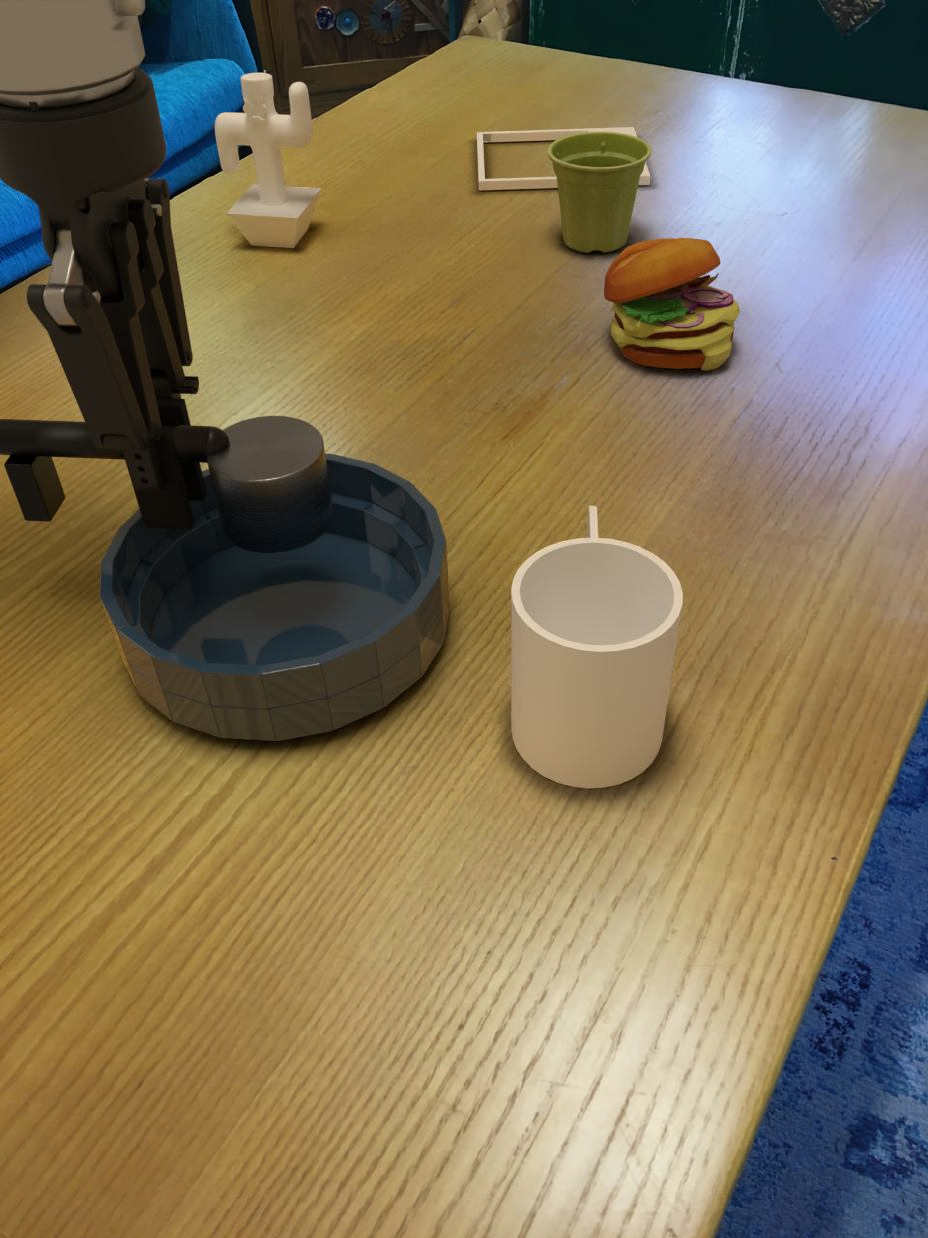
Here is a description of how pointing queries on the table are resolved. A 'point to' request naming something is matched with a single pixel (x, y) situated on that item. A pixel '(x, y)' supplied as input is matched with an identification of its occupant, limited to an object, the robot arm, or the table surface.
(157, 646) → the bowl
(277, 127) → the figurine
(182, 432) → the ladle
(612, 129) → the photo frame
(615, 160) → the plant pot
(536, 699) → the cup
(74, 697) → the table surface
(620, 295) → the cheeseburger
